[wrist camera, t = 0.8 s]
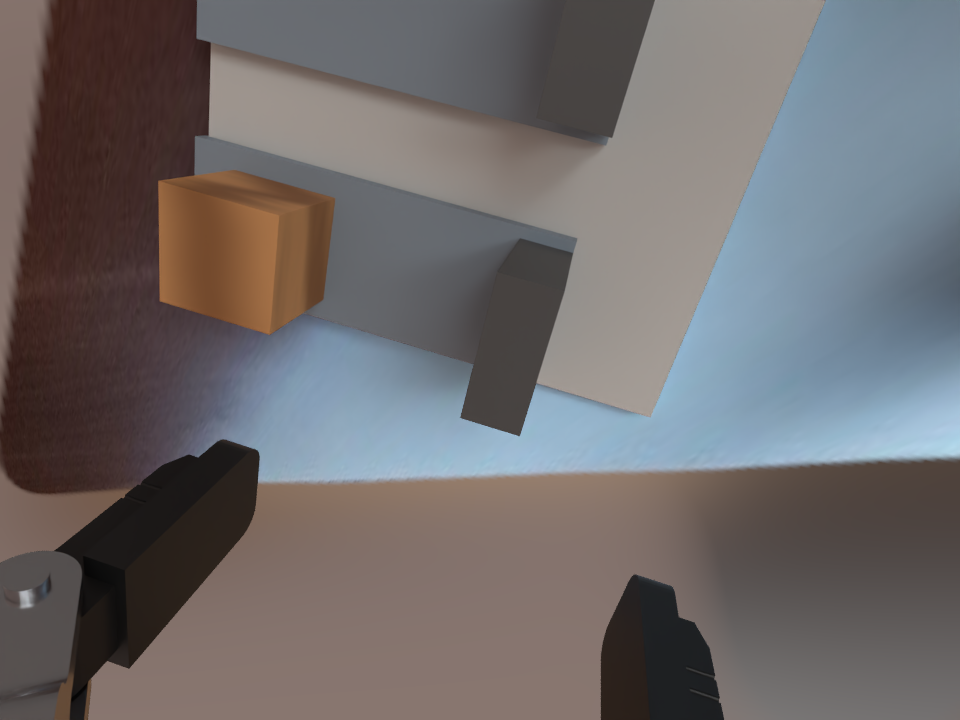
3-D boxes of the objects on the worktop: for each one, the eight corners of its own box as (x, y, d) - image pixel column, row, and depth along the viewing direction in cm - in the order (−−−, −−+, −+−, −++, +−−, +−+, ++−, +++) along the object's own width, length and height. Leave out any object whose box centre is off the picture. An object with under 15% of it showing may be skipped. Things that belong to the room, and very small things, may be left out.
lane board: (829, -27, 21) (839, -33, 20) (648, 408, 29) (650, 417, 28) (231, -163, 23) (216, -174, 22) (216, 278, 31) (205, 283, 30)
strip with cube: (577, 238, 25) (568, 277, 19) (535, 375, 28) (516, 446, 22) (205, 135, 27) (88, 141, 21) (202, 275, 30) (99, 317, 24)
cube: (335, 197, 26) (279, 215, 22) (323, 299, 28) (269, 334, 24) (234, 169, 26) (158, 180, 22) (229, 271, 29) (159, 301, 24)
